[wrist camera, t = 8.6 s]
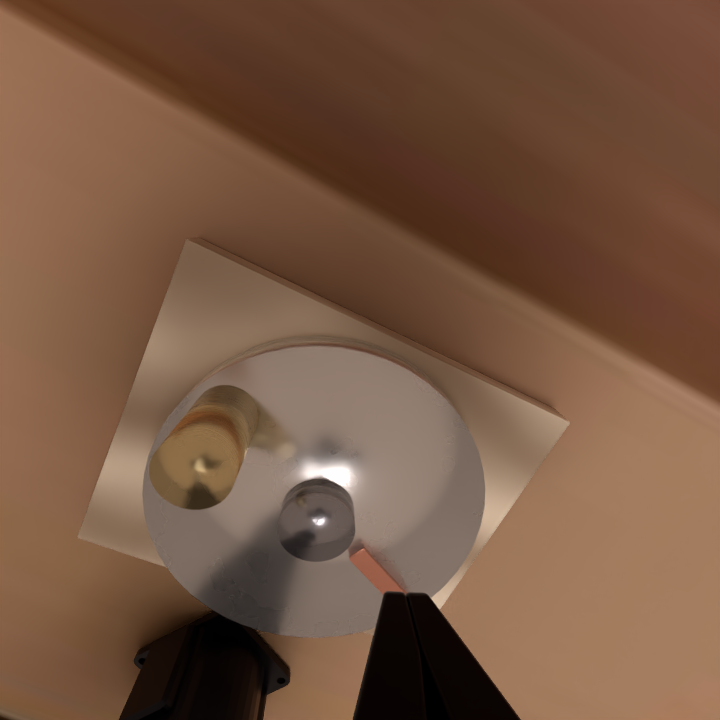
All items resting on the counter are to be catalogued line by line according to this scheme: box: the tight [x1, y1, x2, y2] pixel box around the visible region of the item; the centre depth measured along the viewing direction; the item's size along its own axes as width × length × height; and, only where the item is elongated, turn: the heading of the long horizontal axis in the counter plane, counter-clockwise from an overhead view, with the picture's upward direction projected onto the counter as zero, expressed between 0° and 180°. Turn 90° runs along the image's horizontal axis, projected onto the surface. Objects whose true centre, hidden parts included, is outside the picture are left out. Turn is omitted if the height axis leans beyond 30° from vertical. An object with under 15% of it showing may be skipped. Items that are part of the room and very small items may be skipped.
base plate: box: [77, 238, 570, 635], centre depth 20 cm, size 15×18×2 cm
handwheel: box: [142, 335, 485, 638], centre depth 16 cm, size 14×14×6 cm
